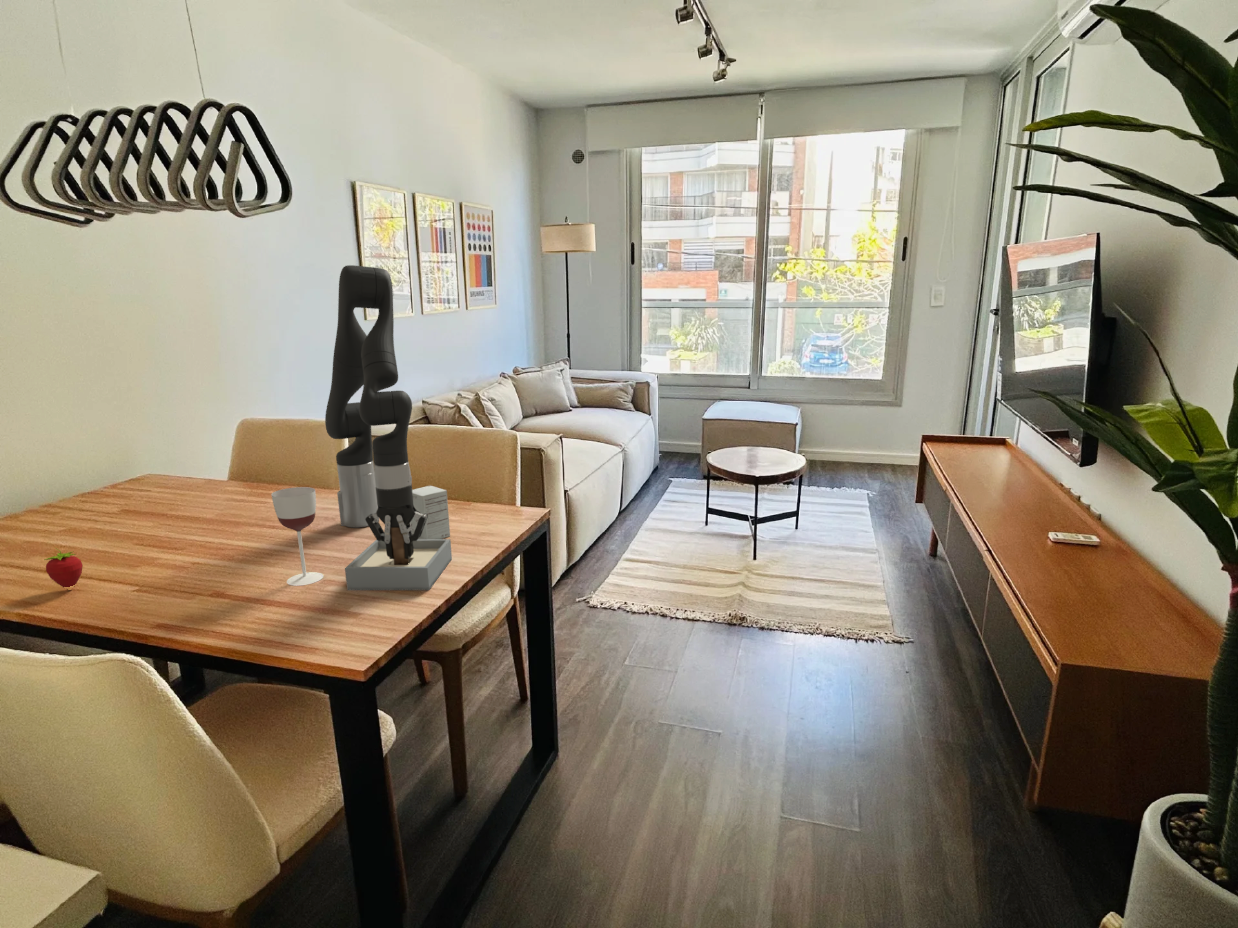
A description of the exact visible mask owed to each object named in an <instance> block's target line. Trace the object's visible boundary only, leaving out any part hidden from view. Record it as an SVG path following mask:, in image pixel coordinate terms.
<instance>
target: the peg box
mask: <svg viewBox="0 0 1238 928" xmlns="http://www.w3.org/2000/svg"><path fill="white" fill-rule="evenodd" d="M413 549H414V553H413V555H412V556H411V557H410V559H408V563H409V564H408V565H394V559H390V558H389V557H388V556H387V552H386V544H385V542H383V541H377V539H375V540H374V541H373V542H372V543H371V544H370V545H369V546H368V547H366V549H364V550H363V551H362V552H361V553H360V554H359V555H357V557H355V559H354V560H352V561H351V562H350V563H349V564H348V565H347V566H346V567H344V571H345V572H344V573H345V581H346V582H345V583H346V589H347V590H346V591H430V590H431V589H432V587H433V586H434V584H435V583H436V581H437V580H439V578H440V576H441V575H442V574H443V573H444V571H445V569H446V568H447V567H448V565H449V564H450V563H451V561H452V560H453V555H452V542H451V539H450V538H443V539H418V540H417V541H413Z"/></svg>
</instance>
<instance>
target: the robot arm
mask: <svg viewBox="0 0 1238 928" xmlns="http://www.w3.org/2000/svg"><path fill="white" fill-rule="evenodd" d="M338 279H339V280H338V299H337V301H338V304H337V306H338V308H337V311H338V312H337V327H336V335H335V343H334V347H333V348H334V350H333V356H332V357H333V358H332V370H331V371H332V373H331V385H330V389H329V391H330V392H329V395H328V399H327V405H326V409H325V415H324V416H325V417H324V418H325V419H324V421H325V422H324V424H325V429H326V433H327V435H328V436H329V437H330V438H331V439H333V440H344V439H353V438H355V439H354V441H353V442H352V443H351V444H350V445H349V446H346V447H345V448H343V449H341V450H339V451H338V452H337V453H336V456H335V458H336V467H337V475H338V484H339V485H338V486H339V491H337V501H338V502H337V503H338V510H339V511H338V512H339V517H340V518H339V519H340V521H339V522H340V526H341V527H342V526H344V527H348V528H364V527H369V529H370V531H371V532H372V535H373V536H374V538H375V540H377V541H383V542H385V544H386V552H387V556H388V557H389V558H390V559H394V557H393V547H392V537H391V528H400V530H401V534H403V538H404V541H405V543H404V550H405V559H410V557H411V556H412V555H413V553H414V549H413V541H417V540H418V538H419V537H420V536H421V534H422V532H423V529H424V526H425V524H426V521H427V518H428V515H427V514H426V513H425V514H421V513H419V512H416V509H415V507H414V505H413V493H412V490H413V484H412V483H413V480H412V479H413V478H412V475H411V474H412V472H411V467H410V463H409V455H408V454H409V453H408V433H409V432H408V431H409V426H410V422H411V421H410V420H411V417H412V412H413V402H412V399H411V397H410V395H409V394H408V393H407V392H406V391H403V390H389V391H387V389H388V388H391V387H394V386H395V385H396V384H397V383H398V381H399V372H398V365H397V359H396V352H395V342H394V340H395V339H394V326H395V325H394V322H395V321H394V290H393V282H392V277H391V274H390V273H389V272H388V270H387V269H385V268H381V267H373V266H372V267H371V266H362V265H356V264H355V265H354V264H353V265H351V264H349V265H345V266H343V267H342V269H341V271H340V274H339V278H338ZM356 308H357V309H358V308H359V309H373V310H378V316H377V318H376V321H375V323H374V325H372V328H371V330H370V331H369V332H368V333H366V332H365V330H363V328H362V327H361V325H360V324H359V321H358V319H357V318H356V314H355V311H354V310H355V309H356ZM362 387H363V388H362ZM360 389H362V393H361V397H360V398H361V399H360V401H359V402H350V400H351V398H352V397H353V396H354V395H355V394H357V392H358V391H359V390H360ZM382 390H386V391H382ZM394 424H395V427H394V429H393V430H392V431H390V432H388V433H386V434H385V433H384V434H382V435H379V436H376V437H375V438H374V439H373V438H372V427H373V426H374V427H377V426H388V425H394ZM413 517H415V518H416V520H415V521H416V523H417V526H416V529H415V532H414V534H412V527H411V523H410V522H411V521H412V519H413ZM380 521H381V522H382V523H383V524H384V529H383V527H382V526H381V524H380Z"/></svg>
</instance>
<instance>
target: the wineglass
mask: <svg viewBox="0 0 1238 928" xmlns="http://www.w3.org/2000/svg"><path fill="white" fill-rule="evenodd" d="M271 500H272V504H273V508H274V512H275V514H276V517H277V520H278V522H279V523H280V524H281V525H282V526H283V527H285V528H287V529H289V530H292V531H295V532H296V535H297V543H298V548H299V549H298V550H299V556H300V565H301V573H299V574H295V575H292V576H291V577H289V578H288V579H287V580H286V584H288V585H289V586H295V587H296V586H297V587H298V586H306V585H311V584H315V583H317V582H319V581H321V580H322V579H323V578H324V574H323V573H321V572H316V571H312V572H311V571H310V572H307V569H306V568H307V567H306V560H305V554H304V545H303V538H302V530H304V529H306V528H307V527H309V526H310V525H311V524H312V523H313V522H314V520H315V517H316V508H317V495H316V489H315V488H313V487H309V486H299V487H298V486H297V487H289V488H281V489H278V490H275V491H273V492H272V493H271Z"/></svg>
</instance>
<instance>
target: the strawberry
mask: <svg viewBox="0 0 1238 928" xmlns="http://www.w3.org/2000/svg"><path fill="white" fill-rule="evenodd" d="M54 549H56V550H57V551H59V552H57V554H56V556H55V555H53V556H50V557H47V558H44V561H47V563H46V564H45V572H46V573H47V575H48V576H49V578H50V579H51V580H52V581H54V582H55V583H56V584H57V585H58V586H60V587H62V588H64V587H70V586H73V585H75V584H76V585H77V583H78V582H79V579H80V577H81V575H82V573H83V565H84V564H83V562H82V560H81V559H80V558H78V557H77V556H75V555H76V553H74V551H69V552H66V553H62V551H61V550H60V549H58V548H56V547H54ZM76 585H75V586H76Z"/></svg>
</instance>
